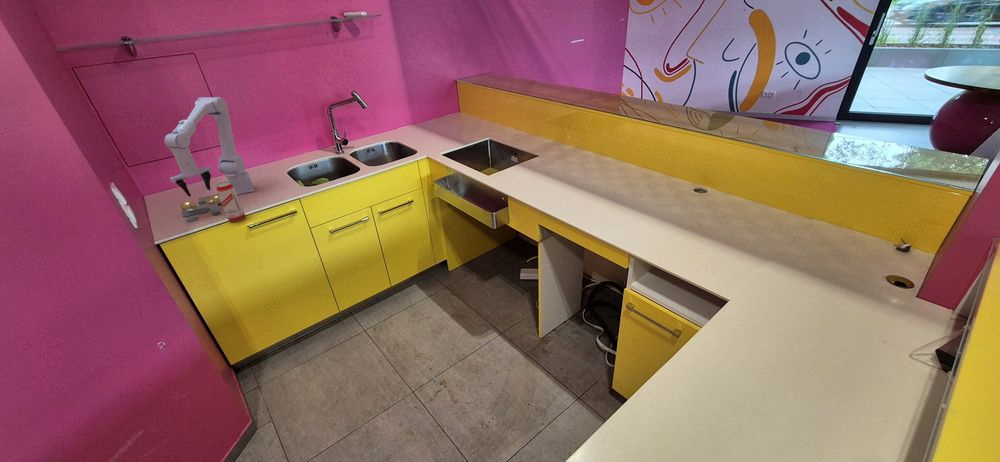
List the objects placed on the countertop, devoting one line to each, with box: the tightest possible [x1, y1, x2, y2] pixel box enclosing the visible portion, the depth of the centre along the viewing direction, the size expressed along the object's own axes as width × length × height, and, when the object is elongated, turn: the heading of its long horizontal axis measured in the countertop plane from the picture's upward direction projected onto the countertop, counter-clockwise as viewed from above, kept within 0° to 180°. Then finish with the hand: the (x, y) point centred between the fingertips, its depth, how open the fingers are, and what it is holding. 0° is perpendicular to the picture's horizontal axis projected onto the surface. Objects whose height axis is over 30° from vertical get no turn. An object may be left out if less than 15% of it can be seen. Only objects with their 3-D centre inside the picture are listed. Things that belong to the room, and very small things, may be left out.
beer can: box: [216, 181, 246, 223], centre depth 173 cm, size 6×6×16 cm
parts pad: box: [185, 215, 199, 223], centre depth 178 cm, size 4×4×1 cm
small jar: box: [206, 198, 222, 216], centre depth 180 cm, size 4×4×7 cm
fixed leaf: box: [198, 193, 222, 206], centre depth 191 cm, size 10×10×4 cm
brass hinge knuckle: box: [179, 200, 211, 218], centre depth 184 cm, size 10×8×4 cm
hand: (199, 192), depth 179 cm, fingers open, 7 cm apart
